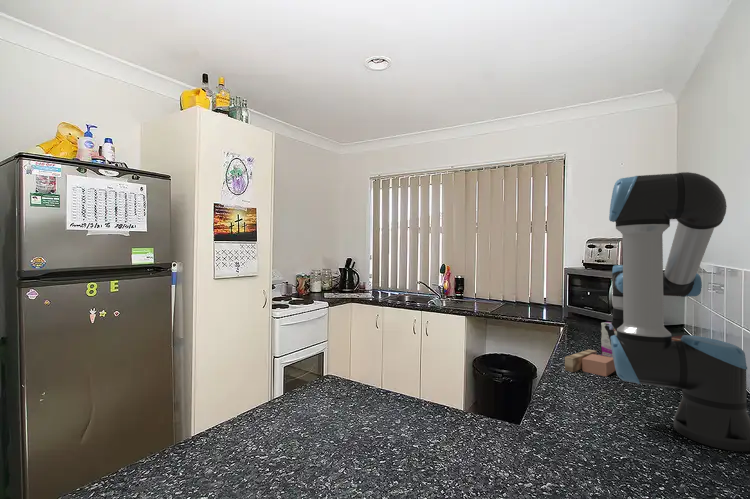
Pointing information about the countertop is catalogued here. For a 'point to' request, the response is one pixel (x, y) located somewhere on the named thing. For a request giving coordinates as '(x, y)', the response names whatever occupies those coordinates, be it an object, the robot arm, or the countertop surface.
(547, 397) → the countertop surface
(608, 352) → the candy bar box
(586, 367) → the block
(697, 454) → the countertop surface
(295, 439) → the countertop surface
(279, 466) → the countertop surface
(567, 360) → the board
